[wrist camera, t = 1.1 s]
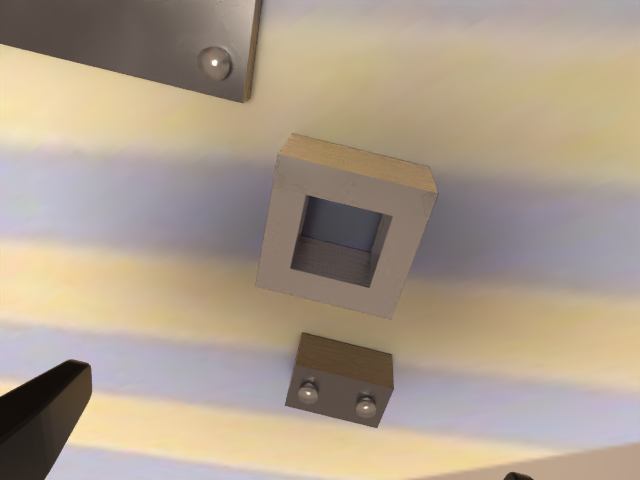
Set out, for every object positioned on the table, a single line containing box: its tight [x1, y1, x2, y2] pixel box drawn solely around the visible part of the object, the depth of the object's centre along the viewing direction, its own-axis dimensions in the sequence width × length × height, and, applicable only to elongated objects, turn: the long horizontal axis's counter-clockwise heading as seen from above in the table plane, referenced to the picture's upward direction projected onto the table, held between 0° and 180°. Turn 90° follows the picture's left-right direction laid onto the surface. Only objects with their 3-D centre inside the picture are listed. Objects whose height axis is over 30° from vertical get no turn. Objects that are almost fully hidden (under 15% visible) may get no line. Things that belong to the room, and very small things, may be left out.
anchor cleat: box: [285, 333, 394, 428], centre depth 23 cm, size 5×3×3 cm, turn 78°
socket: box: [256, 134, 438, 319], centre depth 18 cm, size 6×6×3 cm
